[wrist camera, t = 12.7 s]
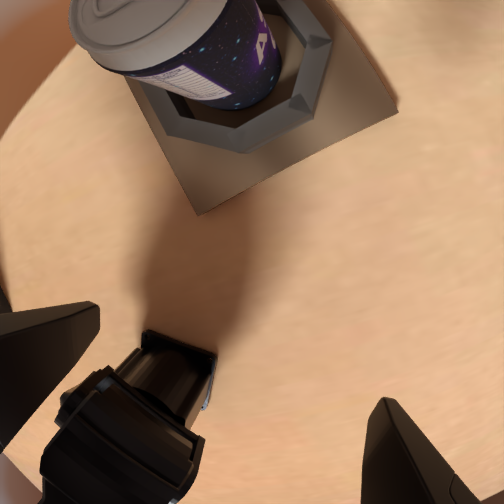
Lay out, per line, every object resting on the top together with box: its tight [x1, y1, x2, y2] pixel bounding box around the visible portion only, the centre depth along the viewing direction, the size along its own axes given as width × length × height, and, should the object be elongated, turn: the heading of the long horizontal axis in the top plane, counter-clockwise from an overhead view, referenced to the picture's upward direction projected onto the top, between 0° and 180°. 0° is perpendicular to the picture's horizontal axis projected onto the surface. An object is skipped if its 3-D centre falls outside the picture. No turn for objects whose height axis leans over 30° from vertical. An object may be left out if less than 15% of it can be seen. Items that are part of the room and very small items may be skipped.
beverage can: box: [69, 0, 282, 111], centre depth 12 cm, size 6×6×12 cm
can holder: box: [124, 0, 399, 216], centre depth 17 cm, size 14×14×4 cm
